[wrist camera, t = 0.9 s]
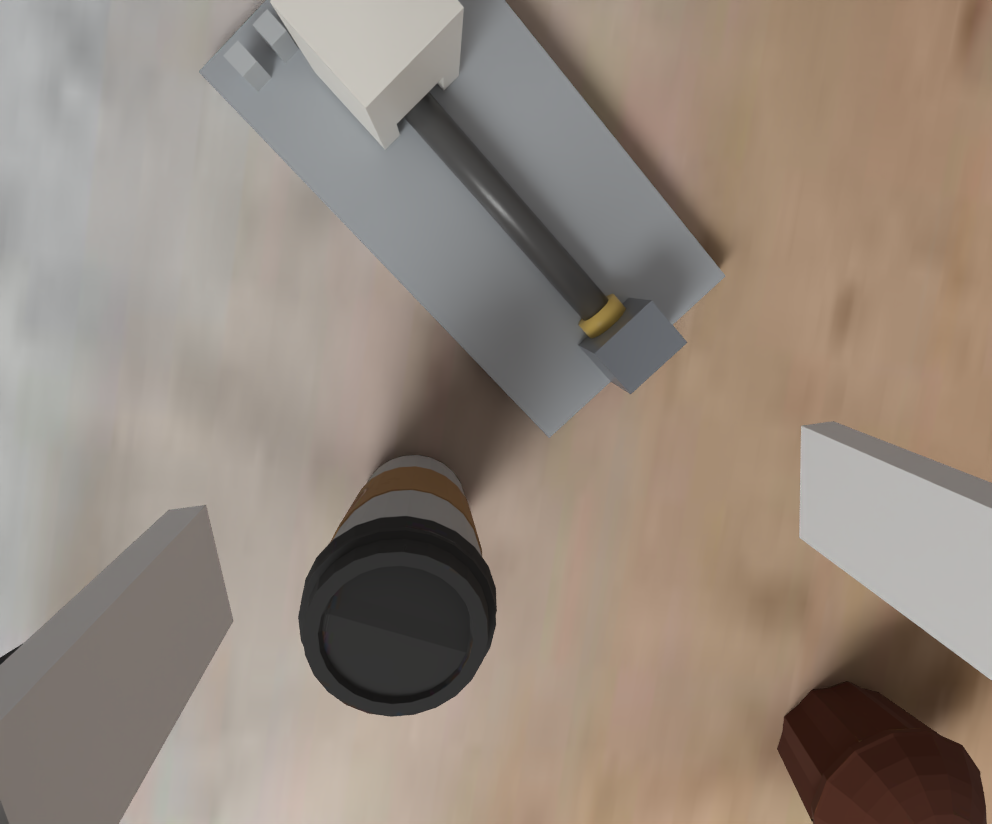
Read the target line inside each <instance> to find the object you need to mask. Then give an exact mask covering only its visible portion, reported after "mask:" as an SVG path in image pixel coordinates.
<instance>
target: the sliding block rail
mask: <svg viewBox="0 0 992 824" xmlns="http://www.w3.org/2000/svg"><path fill="white" fill-rule="evenodd" d="M270 1H271V0H266V1H265V2H264V3H263V4H262V5H261V6H260V7H259V8H258V9H257V10H256V11H255V12H254V13H253V14H252V15H251V17H250V18H249V19H248V20H247V21H246V22H245V23H244V24H243V25H242V26H241V27H240V28H239V29H238V30H237V31H236V33H235V34H234V35H233V36H232V37H231V38H230V39H229V40H228V41H227V42H226V43H225V44H224V45H223V46H222V47H221V49H220V50H219V51H218V52H217V53H216V54H215V55H214V56H213V57H212V58H211V59H210V60H209V61H208V62H207V63H206V65H205V66H204V67H203V68H202V69H201V70H200V71H199V73H200V74H201V75H202V76H203V77H204V78H205V79H206V80H207V81H208V82H209V83H210V84H211V85H212V86H213V87H214V88H215V89H216V90H217V91H218V92H219V93H220V94H221V96H222V97H223V98H224V99H225V100H226V101H227V102H228V103H229V104H230V105H231V106H232V107H233V108H234V109H235V110H236V111H237V112H238V113H239V114H240V115H241V116H242V117H243V119H244V120H245V121H246V122H247V123H248V124H249V125H250V126H251V127H252V128H253V129H254V130H255V131H256V132H257V133H258V134H259V135H260V136H261V137H262V138H263V139H264V140H265V142H266V143H267V144H268V145H269V146H270V147H271V148H272V149H273V150H274V151H275V152H276V153H277V154H278V155H279V156H280V157H281V158H282V159H283V160H284V161H285V162H286V163H287V165H288V166H289V167H290V168H291V169H292V170H293V171H294V172H295V173H296V174H297V175H298V176H299V177H300V178H301V179H302V180H303V181H304V182H305V183H306V184H307V185H308V186H309V188H310V189H311V190H312V191H313V192H314V193H315V194H316V195H317V196H318V197H319V198H320V199H321V200H322V201H323V202H324V203H325V204H326V205H327V206H328V207H329V208H330V209H331V211H332V212H333V213H334V214H335V215H336V216H337V217H338V218H339V219H340V220H341V221H342V222H343V223H344V224H345V225H346V226H347V227H348V228H349V229H350V230H351V231H352V232H353V234H354V235H355V236H356V237H357V238H358V239H359V240H360V241H361V242H362V243H363V244H364V245H365V246H366V247H367V248H368V249H369V250H370V251H371V252H372V253H373V254H374V255H375V257H376V258H377V259H378V260H379V261H380V262H381V263H382V264H383V265H384V266H385V267H386V268H387V269H388V270H389V271H390V272H391V273H392V274H393V275H394V276H395V277H396V278H397V280H398V281H399V282H400V283H401V284H402V285H403V286H404V287H405V288H406V289H407V290H408V291H409V292H410V293H411V294H412V295H413V296H414V297H415V298H416V299H417V300H418V301H419V302H420V304H421V305H422V306H423V307H424V308H425V309H426V310H427V311H428V312H429V313H430V314H431V315H432V316H433V317H434V318H435V319H436V320H437V321H438V322H439V323H440V324H441V325H442V327H443V328H444V329H445V330H446V331H447V332H448V333H449V334H450V335H451V336H452V337H453V338H454V339H455V340H456V341H457V342H458V343H459V344H460V345H461V346H462V347H463V348H464V350H465V351H466V352H467V353H468V354H469V355H470V356H471V357H472V358H473V359H474V360H475V361H476V362H477V363H478V364H479V365H480V366H481V367H482V368H483V369H484V370H485V371H486V373H487V374H488V375H489V376H490V377H491V378H492V379H493V380H494V381H495V382H496V383H497V384H498V385H499V386H500V387H501V388H502V389H503V390H504V391H505V392H506V393H507V394H508V396H509V397H510V398H511V399H512V400H513V401H514V402H515V403H516V404H517V405H518V406H519V407H520V408H521V409H522V410H523V411H524V412H525V413H526V414H527V415H528V416H529V417H530V419H531V420H532V421H533V422H534V423H535V424H536V425H537V426H538V427H539V428H540V429H541V430H542V431H543V432H544V433H545V434H546V435H547V436H548V437H549V438H550V437H551V436H552V435H553V434H554V433H555V432H556V431H557V430H558V429H559V428H561V427H562V426H563V425H564V424H565V423H566V422H567V421H568V420H569V419H570V418H571V417H573V416H574V415H575V414H576V413H577V412H578V411H579V410H580V409H581V408H582V407H583V406H585V405H586V404H587V403H588V402H589V401H590V400H591V399H592V398H593V397H594V396H595V395H597V394H598V393H599V392H600V391H601V390H602V389H603V388H604V387H605V386H606V385H607V384H609V383H610V382H612V383H614V384H615V385H617V386H619V387H620V388H622V389H623V390H625V391H626V392H628V393H630V394H631V393H632V392H634V391H635V390H636V389H637V388H638V387H639V386H640V385H641V384H642V383H643V382H645V381H646V380H647V379H648V378H649V377H650V376H651V375H652V374H653V373H654V372H655V371H657V370H658V369H659V368H660V367H661V366H662V365H663V364H664V363H665V362H666V361H668V360H669V359H670V358H671V357H672V356H673V355H674V354H675V353H676V352H677V351H679V350H680V349H681V348H682V347H683V346H684V345H685V344H686V343H687V342H686V340H685V339H684V338H683V337H682V336H681V334H680V333H679V332H678V331H677V330H676V329H675V327H674V326H673V324H674V323H675V322H676V321H677V320H678V319H679V318H680V317H682V316H683V315H684V314H685V313H686V312H687V311H688V310H689V309H690V308H691V307H692V306H694V305H695V304H696V303H697V302H698V301H699V300H700V299H701V298H702V297H703V296H704V295H706V294H707V293H708V292H709V291H710V290H711V289H712V288H713V287H714V286H715V285H716V284H718V283H719V282H720V281H721V280H722V279H723V278H724V277H725V275H724V273H723V272H722V271H721V270H720V268H719V267H718V266H717V265H716V263H715V262H714V261H713V260H712V258H711V257H710V256H709V255H708V253H707V252H706V251H705V250H704V249H703V247H702V246H701V245H700V244H699V242H698V241H697V240H696V239H695V237H694V236H693V235H692V234H691V232H690V231H689V230H688V229H687V227H686V226H685V225H684V224H683V222H682V221H681V220H680V219H679V217H678V216H677V215H676V214H675V212H674V211H673V210H672V209H671V207H670V206H669V205H668V204H667V202H666V201H665V200H664V199H663V197H662V196H661V195H660V194H659V192H658V191H657V190H656V189H655V187H654V186H653V185H652V184H651V182H650V181H649V180H648V179H647V177H646V176H645V175H644V174H643V172H642V171H641V170H640V169H639V167H638V166H637V165H636V164H635V162H634V161H633V160H632V159H631V157H630V156H629V155H628V154H627V152H626V151H625V150H624V149H623V147H622V146H621V145H620V144H619V142H618V141H617V140H616V139H615V137H614V136H613V135H612V134H611V132H610V131H609V130H608V129H607V127H606V126H605V125H604V124H603V122H602V121H601V120H600V119H599V117H598V116H597V115H596V114H595V112H594V111H593V110H592V109H591V107H590V106H589V105H588V104H587V102H586V101H585V100H584V99H583V97H582V96H581V95H580V94H579V92H578V91H577V90H576V89H575V87H574V86H573V85H572V84H571V82H570V81H569V80H568V79H567V77H566V76H565V75H564V74H563V72H562V71H561V70H560V69H559V67H558V66H557V65H556V64H555V62H554V61H553V60H552V59H551V57H550V56H549V55H548V54H547V52H546V51H545V50H544V49H543V47H542V46H541V45H540V44H539V42H538V41H537V40H536V39H535V38H534V36H533V35H532V34H531V33H530V31H529V30H528V29H527V28H526V26H525V25H524V24H523V23H522V21H521V20H520V19H519V18H518V16H517V15H516V14H515V13H514V11H513V10H512V9H511V8H510V6H509V5H508V4H507V3H506V1H505V0H458V1H459V2H460V3H461V5H462V6H463V7H464V13H463V26H462V40H461V53H460V66H459V76H458V77H457V78H456V79H455V80H454V81H453V82H452V83H451V84H450V85H449V86H448V87H447V88H446V89H445V90H444V91H443V90H442V89H441V87H440V86H439V85H438V84H436V85H435V86H434V87H433V88H432V89H431V90H430V91H429V92H428V93H427V94H426V95H425V96H424V97H423V98H422V99H421V100H420V101H419V102H418V103H417V104H416V105H415V106H414V107H413V108H412V109H411V110H410V111H409V112H408V113H407V114H406V115H405V116H404V117H403V118H402V119H401V120H400V121H399V122H398V123H397V127H398V130H399V133H400V136H399V137H398V138H397V139H396V140H395V141H394V142H393V143H392V144H391V145H390V146H389V147H388V148H387V149H386V150H385V149H384V148H383V147H382V146H381V145H380V144H379V143H378V141H377V140H376V139H375V138H374V137H373V136H372V135H371V134H370V133H369V132H368V130H367V129H366V128H365V127H364V126H363V125H362V124H361V123H360V122H359V121H358V119H357V118H356V117H355V116H354V115H353V114H352V113H351V112H350V111H349V110H348V108H347V107H346V106H345V105H344V104H343V103H342V102H341V101H340V100H339V98H338V97H337V96H336V95H335V94H334V93H333V92H332V91H331V90H330V89H329V87H328V86H327V85H326V84H325V83H324V82H323V81H322V80H321V79H320V78H319V76H318V75H317V74H316V73H315V72H314V70H313V69H312V67H311V66H310V64H309V62H308V61H307V59H306V58H305V56H304V55H303V53H302V51H301V50H300V48H299V47H298V45H297V44H296V42H295V40H294V39H293V37H292V36H291V34H290V33H289V31H288V29H287V28H286V26H285V25H284V23H283V22H282V20H281V19H280V17H279V15H278V14H277V12H276V11H275V9H274V8H273V6H272V4H271V3H270Z"/></svg>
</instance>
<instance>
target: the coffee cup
mask: <svg viewBox="0 0 992 824" xmlns="http://www.w3.org/2000/svg"><path fill="white" fill-rule="evenodd" d="M496 611H497V609H496V587H495V584H494V582H493V579H492V576H491V573H490V570H489V567H488V565H487V564H486V562H485V561H484V559H483V558H482V549H481V545H480V542H479V538H478V535H477V532H476V528H475V525H474V521H473V518H472V515H471V511H470V508H469V505H468V502H467V499H466V497H465V495H464V492H463V489H462V486H461V483H460V481H459V480H458V478H457V477H456V475H455V474H454V473H453V471H451V470H450V469H449V468H448V467H447V466H446V465H444V464H443V463H441V462H439V461H437V460H435V459H433V458H430V457H425V456H420V455H408V456H401V457H398V458H395V459H392V460H390V461H388V462H387V463H385V464H383V465H382V466H380V467H379V468H378V469H377V470H376V471H375V472H374V473H373V475H372V476H371V477H370V478H369V480H368V482H367V483H366V485H365V486H364V487H363V488H362V489H361V491H360V492H359V494H358V495H357V497H356V499H355V500H354V502H353V504H352V505H351V507H350V509H349V510H348V512H347V513H346V515H345V517H344V518H343V520H342V522H341V523H340V525H339V527H338V528H337V530H336V532H335V534H334V536H333V538H332V540H331V542H330V544H329V545H328V546H327V547H326V548H325V549H324V550H323V551H322V552H321V553H320V554H319V556H318V557H317V558H316V560H315V562H314V564H313V566H312V568H311V570H310V572H309V574H308V575H307V577H306V580H305V586H304V590H303V594H302V600H301V605H300V611H299V616H298V619H299V627H300V636H301V642H302V644H303V646H304V650H305V656H306V658H307V660H308V663H309V665H310V667H311V669H312V672H313V674H314V676H315V677H316V678H317V679H318V680H319V682H320V683H321V684H322V685H323V686H324V688H325V689H326V690H327V691H328V692H329V693H330V694H332V695H333V696H335V697H336V698H337V699H339V700H340V701H342V702H343V703H344V704H346V705H348V706H351V707H353V708H356V709H358V710H361V711H363V712H366V713H370V714H377V715H384V716H403V715H414V714H418V713H421V712H424V711H427V710H430V709H433V708H436V707H438V706H440V705H441V704H443V703H445V702H446V701H448V700H450V699H451V698H453V697H455V696H456V695H457V694H458V693H459V692H460V691H461V690H462V689H463V688H464V687H465V686H466V685H467V684H468V683H469V682H470V681H471V680H472V679H473V677H474V675H475V673H476V672H477V670H478V668H479V666H480V665H481V663H482V661H483V659H484V657H485V656H486V654H487V652H488V650H489V649H490V646H491V642H492V638H493V634H494V630H495V626H496Z"/></svg>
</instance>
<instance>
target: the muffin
mask: <svg viewBox="0 0 992 824" xmlns="http://www.w3.org/2000/svg"><path fill="white" fill-rule="evenodd" d="M777 750H778V752H779V754H780V756H781V758H782V760H783V762H784V764H785V766H786V768H787V770H788V772H789V775H790V777H791V779H792V781H793V783H794V785H795V787H796V789H797V791H798V793H799V795H800V797H801V800H802V802H803V804H804V806H805V808H806V810H807V812H808V814H809V816H810V818H811V820H812V821H813V824H987V823H986V805H985V798H984V792H983V787H982V782H981V777H980V771H979V769H978V768H977V766H976V765H975V763H974V762H973V760H972V759H971V757H970V756H969V754H968V753H967V751H966V750H965V748H964V747H963V746H962V745H961V744H959V743H956V742H954V741H952V740H950V739H947V738H945V737H943V736H941V735H939V734H938V733H936V732H935V731H934V730H932V729H931V728H929V727H928V726H926V725H925V724H923V723H922V722H921V721H919V720H918V719H916V718H915V717H913V716H912V715H910V714H909V713H908V712H906V711H905V710H903V709H902V708H900V707H899V706H897V705H896V704H895V703H893V702H892V701H890V700H889V699H887V698H886V697H884V696H883V695H882V694H880V693H879V692H875V691H871V690H867V689H863V688H861V687H859V686H857V685H855V684H852V683H850V682H848V681H846V682H843V683H840V684H838V685H835V686H832V687H828V688H822V689H816V690H811V691H810V692H809V694H808V695H807V696H806V697H805V698H804V699H803V700H802V701H801V703H800V704H799V705H798V706H796V707H795V708H794V709H793V710H792V711H790V712H789V713H788V714H787V715H786V716H784V723H783V732H782V735H781V739H780V742H779V745H778V748H777Z"/></svg>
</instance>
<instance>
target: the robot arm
mask: <svg viewBox="0 0 992 824" xmlns="http://www.w3.org/2000/svg"><path fill="white" fill-rule="evenodd" d="M799 538H801V539H802V540H803V541H805V542H806V543H807V544H809V545H810V546H811V547H813V548H814V549H816V550H817V551H818V552H820V553H821V554H822V555H824V556H825V557H826V558H828V559H829V560H830V561H832V562H833V563H834V564H836V565H837V566H838V567H840V568H841V569H842V570H844V571H845V572H846V573H848V574H849V575H851V576H852V577H853V578H855V579H856V580H857V581H859V582H860V583H861V584H863V585H864V586H865V587H867V588H868V589H869V590H871V591H872V592H873V593H875V594H876V595H877V596H879V597H880V598H881V599H883V600H884V601H886V602H887V603H888V604H890V605H891V606H892V607H894V608H895V609H896V610H898V611H899V612H900V613H902V614H903V615H904V616H906V617H907V618H908V619H910V620H911V621H912V622H914V623H915V624H916V625H918V626H919V627H920V628H922V629H923V630H925V631H926V632H927V633H929V634H930V635H931V636H933V637H934V638H935V639H937V640H938V641H939V642H941V643H942V644H943V645H945V646H946V647H947V648H949V649H950V650H951V651H953V652H954V653H955V654H957V655H958V656H960V657H961V658H962V659H964V660H965V661H966V662H968V663H969V664H970V665H972V666H973V667H974V668H976V669H977V670H978V671H980V672H981V673H982V674H984V675H985V676H986V677H988V678H989V679H990V680H992V483H991V482H988V481H985V480H983V479H980V478H978V477H975V476H973V475H970V474H967V473H965V472H962V471H960V470H957V469H955V468H952V467H949V466H947V465H944V464H942V463H939V462H937V461H934V460H931V459H929V458H926V457H924V456H921V455H919V454H916V453H913V452H911V451H908V450H906V449H903V448H901V447H898V446H895V445H893V444H890V443H888V442H885V441H883V440H880V439H877V438H875V437H872V436H870V435H867V434H865V433H862V432H859V431H857V430H854V429H852V428H849V427H847V426H844V425H841V424H839V423H836V422H834V421H833V422H825V423H818V424H810V425H803V426H801V473H800V537H799ZM232 622H233V617H232V613H231V608H230V604H229V600H228V596H227V592H226V587H225V583H224V579H223V575H222V570H221V566H220V562H219V558H218V554H217V549H216V545H215V541H214V537H213V532H212V528H211V524H210V520H209V515H208V511H207V507H206V505H202V506H195V507H187V508H180V509H172V510H168V511H167V512H166V513H165V514H164V515H163V516H162V517H161V518H159V519H158V520H157V521H156V522H155V523H154V524H153V525H152V526H151V527H150V528H149V529H147V530H146V531H145V532H144V533H143V534H142V535H141V536H140V537H139V538H138V539H137V540H136V541H134V542H133V543H132V544H131V545H130V546H129V547H128V548H127V549H126V550H125V551H124V552H122V553H121V554H120V555H119V556H118V557H117V558H116V559H115V560H114V561H113V562H112V563H111V564H109V565H108V566H107V567H106V568H105V569H104V570H103V571H102V572H101V573H100V574H99V575H97V576H96V577H95V578H94V579H93V580H92V581H91V582H90V583H89V584H88V585H87V586H86V587H84V588H83V589H82V590H81V591H80V592H79V593H78V594H77V595H76V596H75V597H74V598H72V599H71V600H70V601H69V602H68V603H67V604H66V605H65V606H64V607H63V608H62V609H61V610H59V611H58V612H57V613H56V614H55V615H54V616H53V617H52V618H51V619H50V620H49V621H47V622H46V623H45V624H44V625H43V626H42V627H41V628H40V629H39V630H38V631H37V632H36V633H34V634H33V635H32V636H31V637H30V638H29V639H28V640H27V641H26V642H25V643H24V644H22V645H20V646H18V647H17V648H15V649H13V650H12V651H10V652H9V653H7V654H5V655H4V656H2V657H0V824H119V822H120V820H121V819H122V817H123V815H124V813H125V811H126V810H127V808H128V806H129V804H130V803H131V801H132V799H133V797H134V796H135V794H136V792H137V790H138V788H139V787H140V785H141V783H142V781H143V780H144V778H145V776H146V774H147V773H148V771H149V769H150V767H151V765H152V764H153V762H154V760H155V758H156V757H157V755H158V753H159V751H160V750H161V748H162V746H163V744H164V742H165V741H166V739H167V737H168V735H169V734H170V732H171V730H172V728H173V727H174V725H175V723H176V721H177V719H178V718H179V716H180V714H181V712H182V711H183V709H184V707H185V705H186V704H187V702H188V700H189V698H190V696H191V695H192V693H193V691H194V689H195V688H196V686H197V684H198V682H199V681H200V679H201V677H202V675H203V673H204V672H205V670H206V668H207V666H208V665H209V663H210V661H211V659H212V658H213V656H214V654H215V652H216V651H217V649H218V647H219V645H220V643H221V642H222V640H223V638H224V636H225V635H226V633H227V631H228V629H229V628H230V626H231V624H232Z"/></svg>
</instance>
